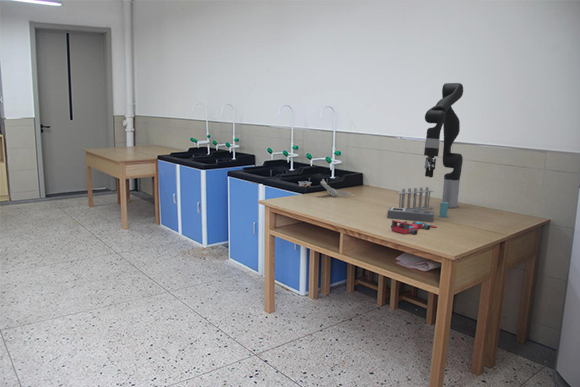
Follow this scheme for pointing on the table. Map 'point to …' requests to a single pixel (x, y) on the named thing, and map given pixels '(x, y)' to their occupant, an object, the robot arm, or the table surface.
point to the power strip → (410, 214)
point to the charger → (443, 209)
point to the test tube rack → (415, 198)
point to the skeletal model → (333, 190)
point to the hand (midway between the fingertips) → (428, 176)
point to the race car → (409, 227)
